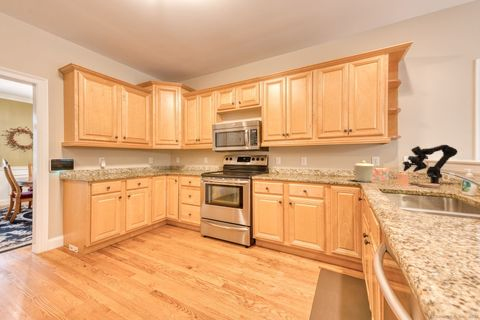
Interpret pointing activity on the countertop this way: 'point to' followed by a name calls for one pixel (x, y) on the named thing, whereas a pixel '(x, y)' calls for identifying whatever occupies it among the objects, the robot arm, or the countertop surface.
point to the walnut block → (429, 185)
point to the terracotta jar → (402, 179)
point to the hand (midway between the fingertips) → (408, 171)
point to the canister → (363, 172)
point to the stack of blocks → (380, 174)
